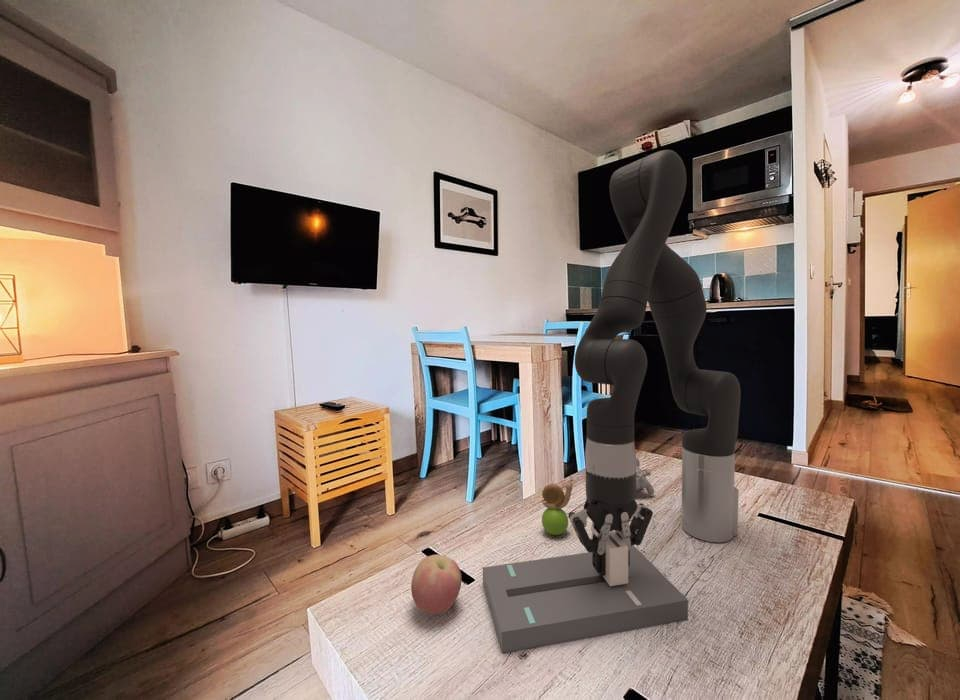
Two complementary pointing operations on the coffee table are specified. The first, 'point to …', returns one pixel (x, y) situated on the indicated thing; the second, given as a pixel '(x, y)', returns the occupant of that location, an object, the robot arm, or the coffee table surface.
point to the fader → (616, 560)
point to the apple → (436, 584)
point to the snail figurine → (555, 508)
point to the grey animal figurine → (643, 479)
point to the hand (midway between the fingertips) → (610, 570)
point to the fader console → (576, 600)
